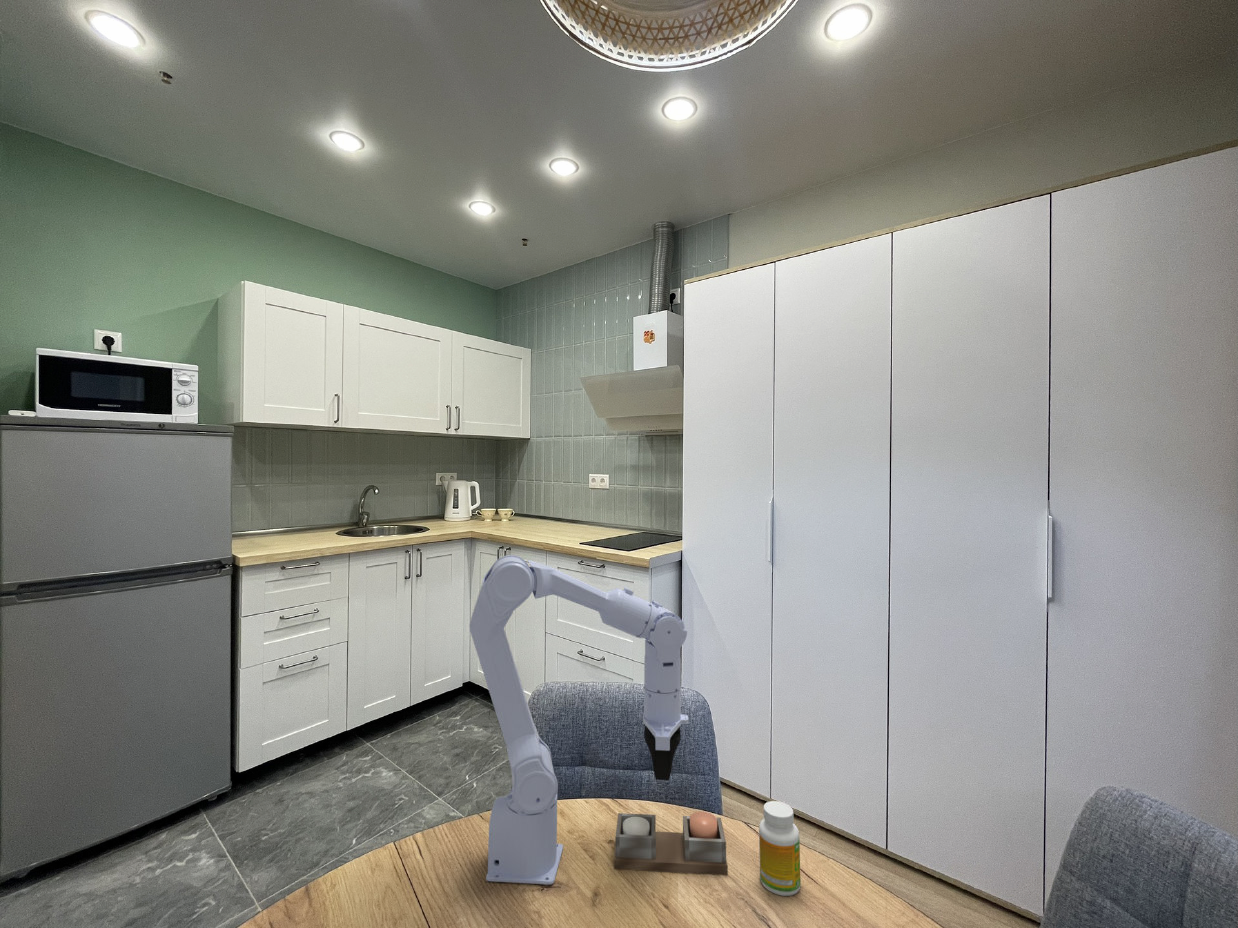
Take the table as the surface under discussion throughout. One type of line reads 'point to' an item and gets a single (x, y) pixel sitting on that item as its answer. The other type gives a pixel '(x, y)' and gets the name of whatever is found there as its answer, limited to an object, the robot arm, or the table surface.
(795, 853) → the supplement bottle
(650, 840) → the panel
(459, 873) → the table surface
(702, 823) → the tan rounded dome
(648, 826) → the white plunger
